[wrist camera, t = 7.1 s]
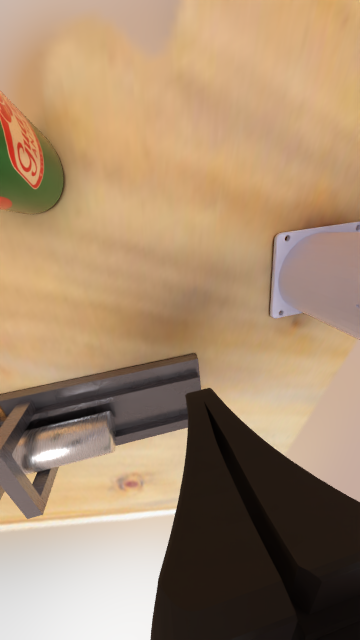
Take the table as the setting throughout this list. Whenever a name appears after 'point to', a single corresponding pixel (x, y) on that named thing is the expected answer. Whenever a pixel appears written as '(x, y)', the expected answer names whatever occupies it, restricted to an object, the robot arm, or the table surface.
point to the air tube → (66, 442)
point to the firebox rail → (88, 399)
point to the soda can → (26, 164)
